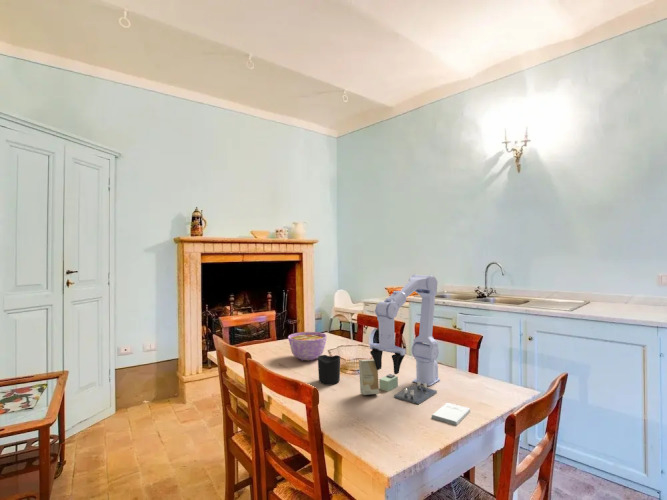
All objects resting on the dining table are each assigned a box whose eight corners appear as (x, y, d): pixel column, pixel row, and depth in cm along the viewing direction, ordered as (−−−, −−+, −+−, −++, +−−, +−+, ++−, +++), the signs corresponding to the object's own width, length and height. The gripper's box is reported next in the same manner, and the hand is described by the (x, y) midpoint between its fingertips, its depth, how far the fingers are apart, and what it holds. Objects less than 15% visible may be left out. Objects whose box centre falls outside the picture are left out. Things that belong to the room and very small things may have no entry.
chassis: (413, 386, 143) (413, 378, 143) (436, 392, 136) (436, 384, 136) (394, 397, 133) (394, 388, 133) (418, 404, 126) (418, 395, 126)
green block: (389, 384, 146) (389, 373, 147) (397, 386, 144) (397, 375, 144) (379, 389, 141) (379, 377, 141) (388, 391, 139) (387, 379, 139)
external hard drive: (431, 419, 116) (446, 406, 125) (456, 427, 110) (470, 412, 120) (431, 414, 116) (446, 401, 125) (456, 421, 110) (470, 407, 120)
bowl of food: (281, 362, 177) (281, 339, 178) (297, 352, 197) (297, 331, 197) (319, 365, 172) (319, 341, 172) (332, 354, 191) (331, 332, 191)
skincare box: (364, 395, 132) (361, 360, 135) (360, 393, 136) (357, 360, 139) (380, 393, 134) (377, 359, 137) (376, 392, 138) (373, 358, 141)
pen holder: (327, 387, 144) (327, 362, 144) (313, 381, 151) (313, 357, 151) (345, 381, 150) (344, 357, 150) (331, 375, 157) (330, 353, 157)
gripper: (364, 333, 134) (365, 370, 134) (397, 339, 125) (398, 378, 125) (375, 330, 140) (376, 365, 140) (408, 335, 130) (409, 373, 130)
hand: (387, 371), depth 132 cm, fingers open, 7 cm apart
